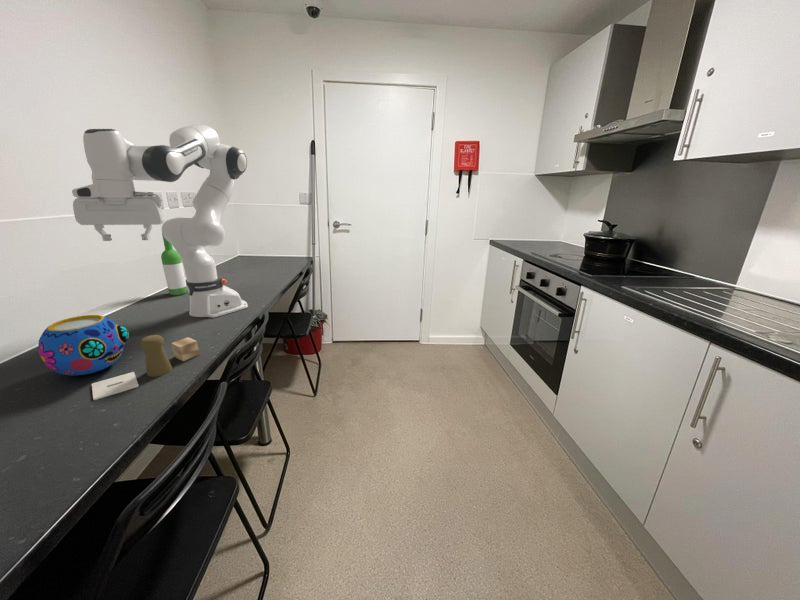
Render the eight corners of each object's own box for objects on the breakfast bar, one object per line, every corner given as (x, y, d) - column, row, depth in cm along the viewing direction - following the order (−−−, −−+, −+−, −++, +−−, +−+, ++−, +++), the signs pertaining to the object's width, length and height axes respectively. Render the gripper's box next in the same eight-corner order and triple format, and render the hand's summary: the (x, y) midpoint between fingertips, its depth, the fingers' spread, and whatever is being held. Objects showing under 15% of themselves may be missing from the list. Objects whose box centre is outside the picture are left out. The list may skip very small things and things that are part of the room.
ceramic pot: (95, 387, 86) (78, 336, 81) (30, 385, 87) (8, 334, 82) (145, 355, 103) (133, 311, 98) (90, 354, 103) (75, 310, 98)
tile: (134, 373, 93) (133, 371, 93) (138, 386, 87) (138, 384, 87) (92, 385, 87) (91, 383, 87) (93, 400, 81) (93, 398, 81)
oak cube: (191, 351, 106) (188, 337, 105) (199, 355, 104) (196, 340, 102) (174, 357, 102) (171, 343, 101) (183, 361, 100) (179, 347, 98)
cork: (159, 378, 91) (150, 342, 87) (141, 375, 92) (131, 340, 89) (177, 367, 97) (169, 333, 93) (160, 364, 98) (151, 331, 94)
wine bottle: (168, 297, 156) (154, 234, 146) (170, 292, 163) (156, 232, 153) (187, 294, 160) (174, 233, 150) (188, 290, 166) (176, 231, 156)
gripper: (162, 192, 98) (171, 238, 102) (77, 190, 92) (90, 239, 96) (155, 192, 93) (164, 241, 97) (63, 190, 86) (78, 242, 90)
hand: (127, 240), depth 96 cm, fingers open, 8 cm apart
